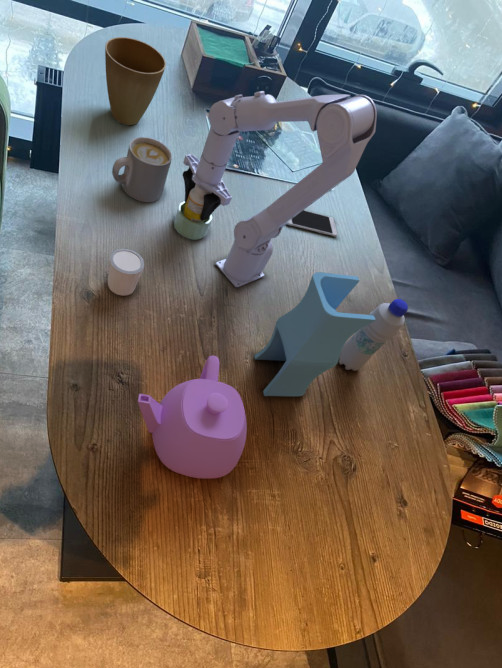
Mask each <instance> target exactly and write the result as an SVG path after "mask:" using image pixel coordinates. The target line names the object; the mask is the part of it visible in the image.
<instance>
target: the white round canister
mask: <svg viewBox="0 0 502 668" xmlns="http://www.w3.org/2000/svg"><path fill="white" fill-rule="evenodd" d="M144 268H145V261H144V259H143V257H142V256H141V255H140V254H139V253H138V252H136V251H135V250H132V249H129V248H128V249H127V248H118V249H115V250H113V251H112V252H111V253H110V255H109V263H108V273H107V276H108V277H107V286H108V289H109V290H110V291H111V292H112V293H114V294H115V295H118V296H129V295H132V294H133V292H134V291H136V287H137V285H138V283H139V280H140V277H141V275H142V273H143V270H144Z"/></svg>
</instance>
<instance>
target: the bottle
mask: <svg viewBox="0 0 502 668" xmlns="http://www.w3.org/2000/svg"><path fill="white" fill-rule="evenodd" d="M408 309H409V305H408V304H407V302H406V301H405V300H403V299H401V298H395V299H394V300H392V301H391V303H389V302H382V303H381V304H378V306H377V307H376V308H375V309H373V310H372V311H370V313H369V314H368V315H374V317H375V319H376V320H375V321H374V322H372V323H370V324H368V325H366V326H365V327H363V328H361V329H360V330H358V331H357V332H355V333H354V334H353V335H352V336H351V337H350V338H348V340H347V341H346V343H345V344H344V346H343V348H342V350H341V353H340V356H339V360H338V364H339V365H344V369H345V370H347V371H349V370H351V371H353V372H356V371H358V370H360V369H361V368H363V367H364V366H365V365H366V364H367V363H368V362H369V361H370V359H371V358H372V357H373V355H374V354H375V353H377V351H379V350H380V349H381V347H383V345H384V344H385V343H386V342H388V341H390V340H391V339H393V337H395V336H396V335H397V334H398V332H399V331H400V330H401V328H402V327H403V325H404V324H405V322H406V321H405V320H406V319H405V315H406V313H407V312H408Z"/></svg>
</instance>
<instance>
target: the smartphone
mask: <svg viewBox="0 0 502 668" xmlns="http://www.w3.org/2000/svg"><path fill="white" fill-rule="evenodd" d="M286 225H288V226H289V227H290V226H291V227H293V228H297V229H298V228H299V229H303V230H307V231H310V232H316V233H319V234H323V235H326V236H332V237H337V236H338V232H337V227H336V223H335V220H334V218H333V217H332V216H328V215H324V214H321V213H317V212H313V211H308V210H306V209H304V210H303V211H302V212H300V213H299V214H297V215H296V216H295V217H293V218H292V219H291V220H289V221H288V223H287V224H286Z"/></svg>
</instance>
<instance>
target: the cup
mask: <svg viewBox="0 0 502 668" xmlns="http://www.w3.org/2000/svg"><path fill="white" fill-rule="evenodd" d="M185 205H186V203H185V200H183V201H181V202H180V203H179V204H178V207H177V209H176V212H175V216H174V220H173V227H174V229H175V231H176V232H177V233H178V234H179V235H181V236H182V237H184V238H186V239H188V240H195V241H197V240H201V239H203V238H205V237H206V235H207V234H208V231H209V229H210V226H211V223H212V222H213V213H212V214H211V215H210V217H209V218H208V219H207V220H205V221H204V223H196V222H193V221H190V220H189V219H187V218H186V217H185V216H184V215H183V211H184V208H185Z"/></svg>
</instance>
